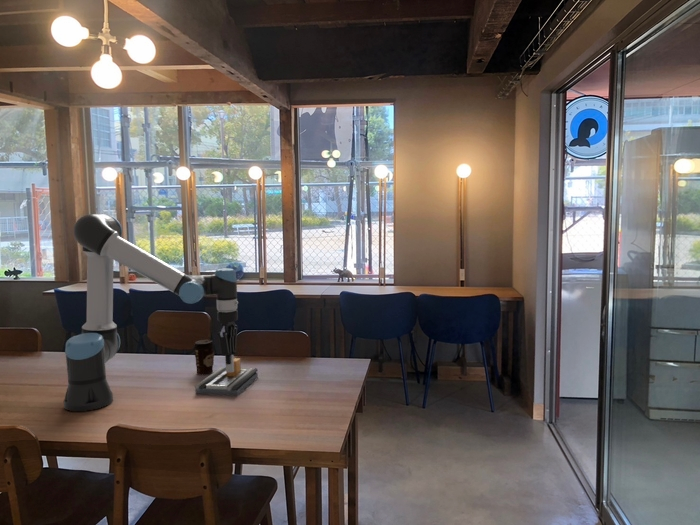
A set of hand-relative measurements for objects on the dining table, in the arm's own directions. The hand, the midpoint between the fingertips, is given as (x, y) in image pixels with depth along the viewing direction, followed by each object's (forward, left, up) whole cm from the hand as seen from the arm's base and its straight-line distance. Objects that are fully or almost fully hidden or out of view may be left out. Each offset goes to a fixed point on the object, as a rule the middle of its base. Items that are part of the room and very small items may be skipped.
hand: (230, 371), depth 201 cm
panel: (-2, 0, -5) cm, 5 cm away
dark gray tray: (-2, 0, -3) cm, 3 cm away
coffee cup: (+10, +15, -5) cm, 19 cm away
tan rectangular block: (+4, 0, -2) cm, 4 cm away
